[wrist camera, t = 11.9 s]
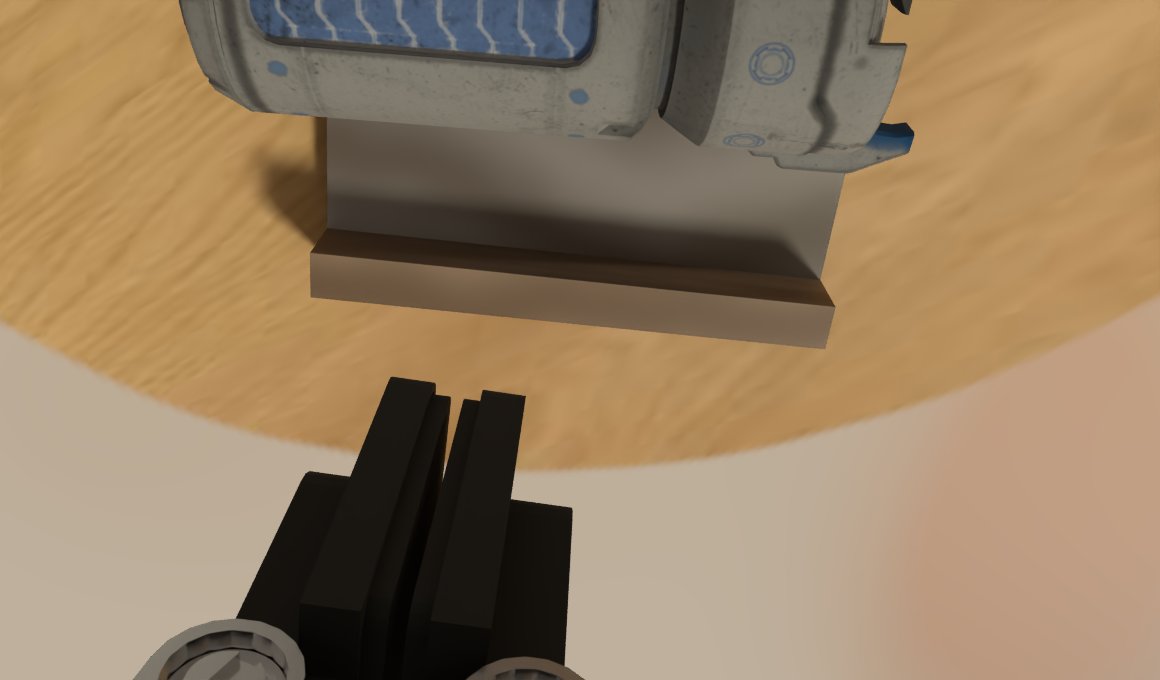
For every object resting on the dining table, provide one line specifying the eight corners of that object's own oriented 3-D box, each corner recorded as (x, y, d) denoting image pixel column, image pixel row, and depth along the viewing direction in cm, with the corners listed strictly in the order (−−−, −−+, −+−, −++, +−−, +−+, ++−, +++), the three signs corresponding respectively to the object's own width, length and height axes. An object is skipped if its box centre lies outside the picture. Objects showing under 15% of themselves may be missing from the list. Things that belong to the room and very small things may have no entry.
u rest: (331, -275, 35) (302, -290, 32) (924, -200, 36) (962, -206, 33) (332, 262, 45) (310, 297, 41) (806, 310, 46) (825, 349, 42)
